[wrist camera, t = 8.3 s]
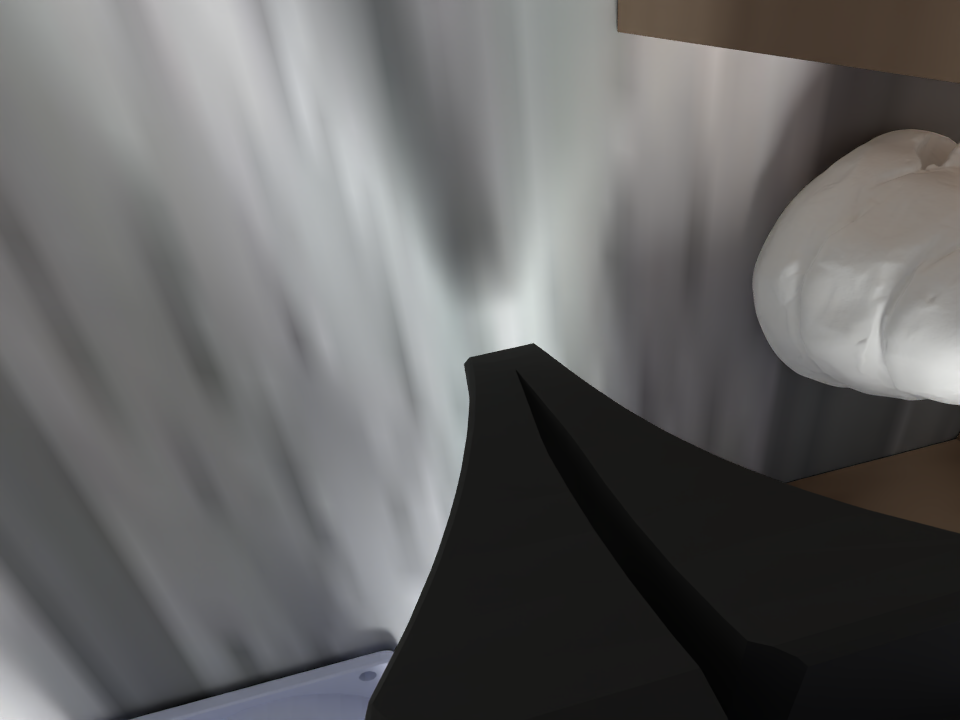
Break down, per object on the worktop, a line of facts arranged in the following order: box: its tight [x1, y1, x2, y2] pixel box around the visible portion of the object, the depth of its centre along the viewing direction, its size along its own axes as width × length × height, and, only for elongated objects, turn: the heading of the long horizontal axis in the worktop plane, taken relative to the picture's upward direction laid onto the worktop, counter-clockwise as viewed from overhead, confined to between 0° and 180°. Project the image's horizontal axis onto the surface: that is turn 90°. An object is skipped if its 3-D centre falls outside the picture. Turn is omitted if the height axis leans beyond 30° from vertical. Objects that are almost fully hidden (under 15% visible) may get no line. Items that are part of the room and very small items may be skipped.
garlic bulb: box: [752, 129, 960, 405], centre depth 11 cm, size 6×6×5 cm
